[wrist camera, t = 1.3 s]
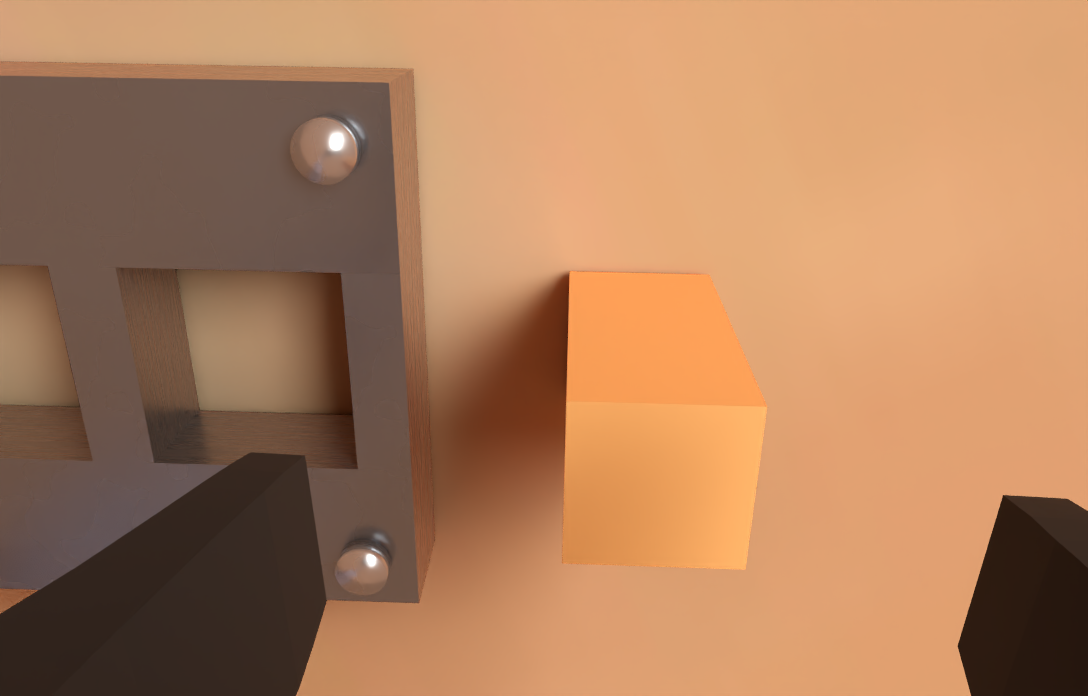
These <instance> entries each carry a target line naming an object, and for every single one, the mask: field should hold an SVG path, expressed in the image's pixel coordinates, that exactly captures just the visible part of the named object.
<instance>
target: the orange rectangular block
mask: <svg viewBox="0 0 1088 696" xmlns="http://www.w3.org/2000/svg"><path fill="white" fill-rule="evenodd" d="M766 412H767V405H766V403H765V401H764V398H763V396H762V394H761V392H760V389H759V387H758V385H757V382H756V380H755V378H754V376H753V373H752V371H751V369H750V366H749V364H748V362H747V360H746V357H745V355H744V353H743V350H742V348H741V346H740V344H739V341H738V339H737V337H736V334H735V332H734V330H733V328H732V325H731V323H730V321H729V319H728V316H727V314H726V312H725V309H724V307H723V305H722V303H721V300H720V298H719V296H718V293H717V291H716V289H715V287H714V284H713V282H712V280H711V277H710V275H700V274H658V273H616V272H575V271H570V279H569V316H568V354H567V391H566V430H565V469H564V508H563V546H562V563H566V564H596V565H626V566H656V567H686V568H715V569H746V561H747V554H748V546H749V539H750V531H751V524H752V516H753V509H754V502H755V494H756V487H757V479H758V472H759V464H760V457H761V449H762V442H763V434H764V427H765V420H766Z"/></svg>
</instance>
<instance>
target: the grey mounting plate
mask: <svg viewBox="0 0 1088 696" xmlns="http://www.w3.org/2000/svg"><path fill="white" fill-rule="evenodd" d="M0 265H34V266H48V270H49V274H50V279H51V283H52V287H53V292H54V296H55V300H56V304H57V309H58V313H59V317H60V322H61V326H62V330H63V335H64V339H65V343H66V348H67V352H68V356H69V361H70V365H71V369H72V373H73V378H74V382H75V386H76V391H77V395H78V399H79V404H80V407H54V406H19V405H0V588H3V589H32V590H40V589H42V588H43V587H45V586H46V585H48V584H50V583H51V582H53V581H55V580H56V579H58V578H59V577H61V576H63V575H64V574H66V573H67V572H69V571H71V570H72V569H74V568H76V567H77V566H79V565H80V564H82V563H83V562H85V561H86V560H88V559H89V558H91V557H92V556H94V555H95V554H97V553H98V552H100V551H101V550H103V549H104V548H106V547H107V546H109V545H110V544H112V543H113V542H115V541H116V540H118V539H119V538H121V537H122V536H124V535H125V534H127V533H128V532H130V531H131V530H133V529H134V528H136V527H137V526H139V525H140V524H142V523H143V522H145V521H146V520H148V519H149V518H151V517H152V516H154V515H155V514H157V513H158V512H160V511H161V510H163V509H164V508H165V507H167V506H168V505H170V504H171V503H173V502H174V501H176V500H177V499H179V498H180V497H182V496H183V495H185V494H186V493H188V492H189V491H191V490H192V489H193V488H195V487H196V486H198V485H199V484H201V483H202V482H204V481H205V480H207V479H208V478H210V477H211V476H213V475H214V474H216V473H218V472H219V471H221V470H222V469H224V468H225V467H227V466H228V465H230V464H232V463H233V462H235V461H236V460H238V459H240V458H242V457H243V456H245V455H247V454H248V453H250V452H256V453H273V454H291V455H305V458H306V464H307V471H308V478H309V485H310V491H311V498H312V505H313V512H314V518H315V525H316V532H317V539H318V545H319V552H320V559H321V566H322V572H323V579H324V586H325V592H326V599H327V600H344V601H372V602H401V603H419V601H420V597H421V593H422V589H423V585H424V582H425V578H426V574H427V570H428V566H429V562H430V558H431V554H432V550H433V546H434V542H435V528H434V507H433V485H432V464H431V442H430V421H429V399H428V377H427V356H426V334H425V313H424V291H423V269H422V248H421V226H420V205H419V183H418V162H417V140H416V118H415V97H414V75H413V69H396V68H339V67H283V66H226V65H169V64H113V63H56V62H0ZM176 269H198V270H239V271H279V272H320V273H341V281H342V293H343V304H344V316H345V327H346V339H347V350H348V362H349V373H350V385H351V396H352V408H353V415H328V414H294V413H260V412H225V411H200V410H199V404H198V399H197V393H196V387H195V381H194V375H193V369H192V363H191V357H190V351H189V345H188V339H187V333H186V327H185V321H184V316H183V310H182V304H181V298H180V292H179V286H178V280H177V274H176Z"/></svg>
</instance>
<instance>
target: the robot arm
mask: <svg viewBox="0 0 1088 696" xmlns="http://www.w3.org/2000/svg"><path fill="white" fill-rule="evenodd" d="M326 601H327V599H326V592H325V586H324V579H323V572H322V566H321V559H320V552H319V545H318V539H317V532H316V525H315V518H314V512H313V505H312V498H311V491H310V485H309V478H308V471H307V464H306V458H305V455H291V454H273V453H256V452H250V453H248V454H247V455H245V456H243V457H242V458H240V459H238V460H236V461H235V462H233V463H232V464H230V465H228V466H227V467H225V468H224V469H222V470H221V471H219V472H218V473H216V474H214V475H213V476H211V477H210V478H208V479H207V480H205V481H204V482H202V483H201V484H199V485H198V486H196V487H195V488H193V489H192V490H191V491H189V492H188V493H186V494H185V495H183V496H182V497H180V498H179V499H177V500H176V501H174V502H173V503H171V504H170V505H168V506H167V507H165V508H164V509H163V510H161V511H160V512H158V513H157V514H155V515H154V516H152V517H151V518H149V519H148V520H146V521H145V522H143V523H142V524H140V525H139V526H137V527H136V528H134V529H133V530H131V531H130V532H128V533H127V534H125V535H124V536H122V537H121V538H119V539H118V540H116V541H115V542H113V543H112V544H110V545H109V546H107V547H106V548H104V549H103V550H101V551H100V552H98V553H97V554H95V555H94V556H92V557H91V558H89V559H88V560H86V561H85V562H83V563H82V564H80V565H79V566H77V567H76V568H74V569H72V570H71V571H69V572H67V573H66V574H64V575H63V576H61V577H59V578H58V579H56V580H55V581H53V582H51V583H50V584H48V585H46V586H45V587H43V588H42V589H40V590H38V591H37V592H35V593H33V594H32V595H30V596H29V597H27V598H25V599H24V600H22V601H20V602H19V603H17V604H16V605H14V606H12V607H11V608H9V609H8V610H6V611H4V612H3V613H1V614H0V696H296V694H297V691H298V689H299V687H300V684H301V681H302V678H303V675H304V672H305V669H306V666H307V663H308V660H309V657H310V654H311V651H312V648H313V644H314V641H315V638H316V634H317V631H318V628H319V625H320V621H321V618H322V615H323V611H324V608H325V605H326ZM958 649H959V652H960V656H961V660H962V663H963V667H964V671H965V674H966V678H967V682H968V685H969V689H970V693H971V696H1088V511H1087V510H1085V509H1083V508H1082V507H1080V506H1078V505H1077V504H1075V503H1073V502H1072V501H1070V500H1068V499H1061V498H1043V497H1026V496H1008V495H1003V498H1002V501H1001V504H1000V508H999V511H998V514H997V518H996V521H995V524H994V528H993V531H992V534H991V537H990V541H989V544H988V547H987V551H986V554H985V557H984V561H983V564H982V567H981V571H980V574H979V577H978V581H977V584H976V587H975V590H974V594H973V597H972V600H971V604H970V607H969V610H968V614H967V617H966V620H965V624H964V627H963V630H962V633H961V637H960V640H959V643H958Z"/></svg>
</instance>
